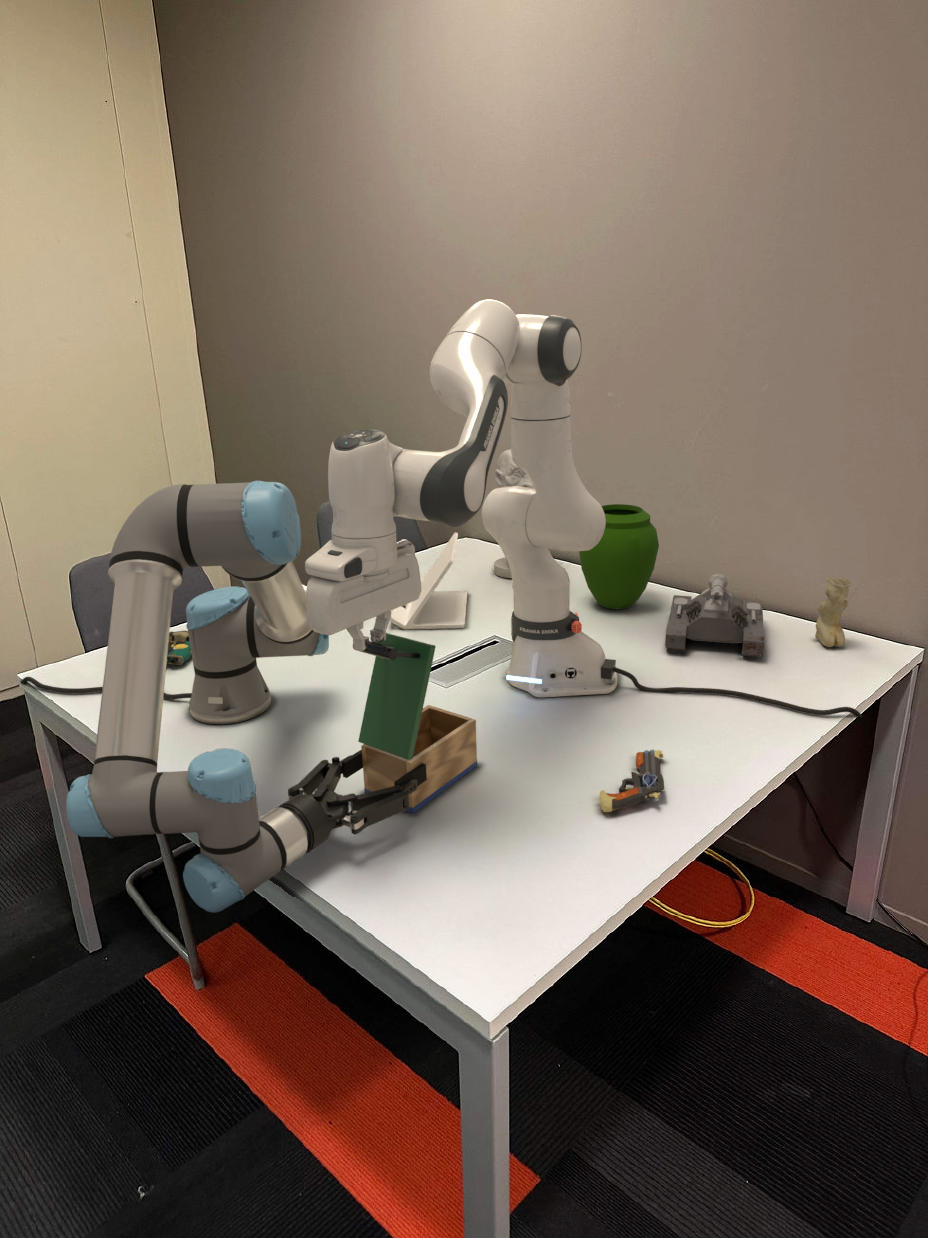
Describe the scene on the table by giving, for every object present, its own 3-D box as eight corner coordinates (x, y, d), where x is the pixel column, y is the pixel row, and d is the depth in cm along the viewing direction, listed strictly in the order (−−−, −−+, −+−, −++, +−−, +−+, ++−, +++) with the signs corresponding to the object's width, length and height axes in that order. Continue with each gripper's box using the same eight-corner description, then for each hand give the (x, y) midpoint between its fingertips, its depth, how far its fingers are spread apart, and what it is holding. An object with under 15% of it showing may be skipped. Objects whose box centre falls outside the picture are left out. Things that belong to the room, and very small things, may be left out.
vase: (599, 587, 227) (601, 497, 218) (668, 600, 216) (673, 505, 208) (562, 608, 212) (564, 513, 204) (634, 623, 202) (639, 523, 193)
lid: (385, 632, 132) (348, 628, 125) (436, 645, 127) (400, 642, 120) (363, 741, 133) (324, 743, 126) (412, 759, 127) (375, 762, 120)
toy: (672, 614, 207) (676, 554, 201) (759, 620, 201) (765, 559, 196) (664, 654, 184) (668, 588, 179) (762, 663, 178) (769, 595, 173)
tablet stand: (467, 593, 225) (465, 531, 219) (465, 628, 202) (462, 559, 196) (399, 594, 226) (395, 532, 220) (388, 629, 203) (384, 560, 197)
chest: (430, 749, 149) (428, 704, 145) (477, 765, 143) (476, 719, 140) (364, 793, 136) (360, 745, 133) (413, 813, 130) (410, 763, 127)
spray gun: (178, 638, 203) (228, 649, 197) (124, 660, 188) (176, 673, 182) (176, 621, 201) (227, 632, 195) (122, 642, 187) (175, 654, 181)
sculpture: (821, 649, 184) (830, 583, 179) (808, 637, 191) (816, 573, 185) (848, 649, 184) (858, 582, 179) (834, 636, 191) (843, 572, 185)
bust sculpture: (503, 593, 225) (502, 460, 212) (483, 567, 247) (480, 445, 234) (562, 587, 228) (563, 456, 215) (536, 562, 250) (536, 441, 237)
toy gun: (598, 801, 127) (666, 799, 125) (602, 747, 145) (662, 744, 143) (599, 817, 128) (668, 816, 126) (603, 761, 146) (663, 759, 144)
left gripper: (240, 827, 124) (347, 762, 141) (354, 883, 111) (456, 804, 128) (234, 782, 121) (343, 721, 138) (349, 834, 109) (454, 760, 125)
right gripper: (396, 533, 127) (400, 620, 132) (295, 565, 112) (303, 662, 116) (429, 539, 124) (432, 628, 128) (329, 572, 108) (336, 673, 113)
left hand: (397, 761), depth 133 cm, fingers closed on chest, 10 cm apart
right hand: (370, 645), depth 122 cm, fingers closed
